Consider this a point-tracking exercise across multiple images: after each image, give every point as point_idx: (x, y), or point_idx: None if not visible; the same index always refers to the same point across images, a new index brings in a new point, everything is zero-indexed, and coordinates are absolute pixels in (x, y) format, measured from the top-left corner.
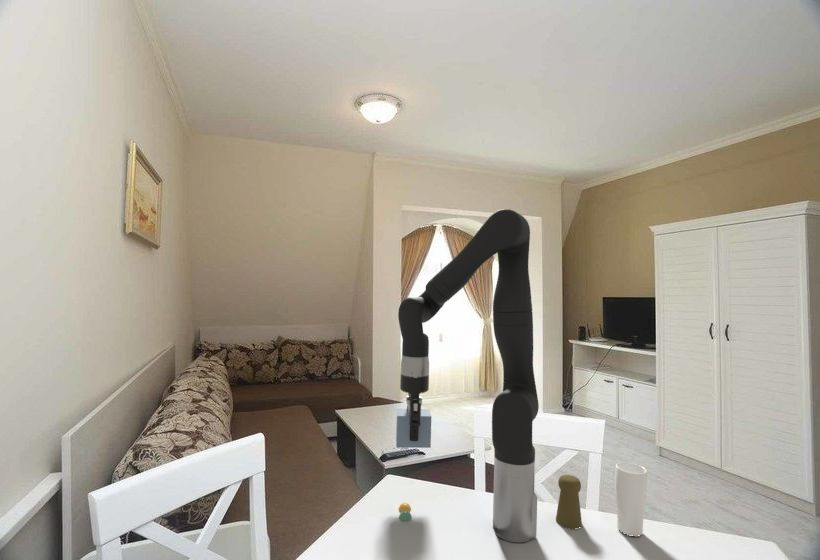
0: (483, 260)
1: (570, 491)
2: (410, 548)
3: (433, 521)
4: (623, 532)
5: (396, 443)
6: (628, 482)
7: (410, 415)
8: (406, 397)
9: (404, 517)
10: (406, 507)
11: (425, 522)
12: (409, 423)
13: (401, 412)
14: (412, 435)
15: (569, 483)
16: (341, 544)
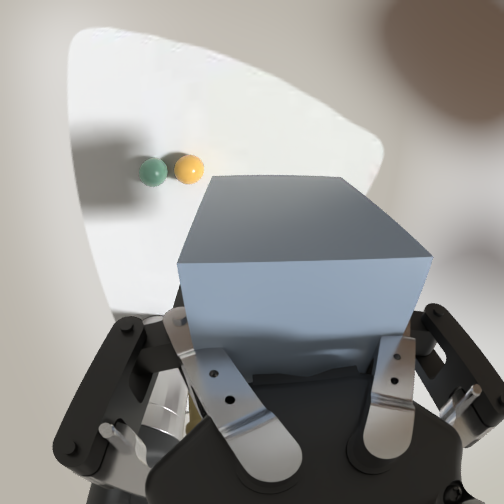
0: None
1: (186, 425)
2: (87, 184)
3: (174, 226)
4: (186, 414)
5: (210, 181)
6: None
7: (93, 377)
8: (409, 435)
9: (139, 172)
10: (176, 175)
11: (168, 210)
12: (174, 319)
13: (310, 302)
14: (180, 287)
15: (187, 433)
16: (88, 60)
